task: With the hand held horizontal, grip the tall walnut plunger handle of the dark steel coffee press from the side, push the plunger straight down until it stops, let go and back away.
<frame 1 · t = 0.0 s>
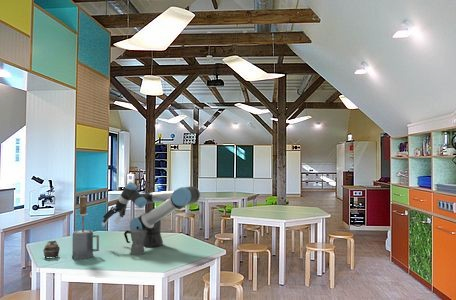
hand: (109, 224, 284), 15 cm above the table, tool tilted 35°, fingers open, 13 cm apart
cupcake: (51, 257, 249), on the table
coffeepot: (135, 254, 257), on the table
press carafe: (82, 256, 250), on the table
plunger: (83, 214, 250), point 27 cm above the table, slide at 0.0 cm
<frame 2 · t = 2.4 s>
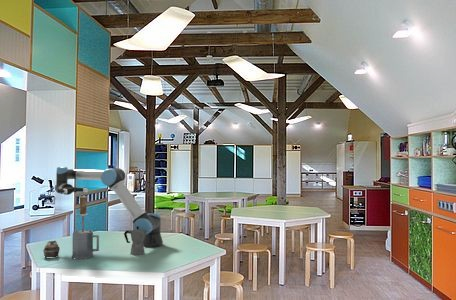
hand: (77, 190, 259), 42 cm above the table, tool horizontal, fingers open, 13 cm apart
nothing on the table moved.
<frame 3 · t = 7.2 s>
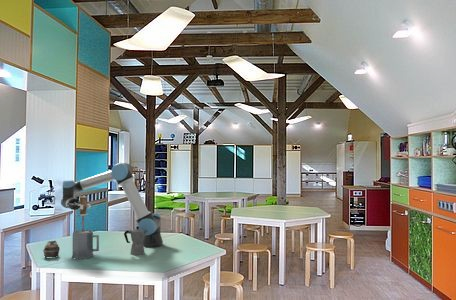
hand: (86, 206, 246), 32 cm above the table, tool horizontal, fingers closed on plunger, 4 cm apart
plunger: (83, 214, 250), point 27 cm above the table, slide at 0.0 cm, touching gripper
everything else where it was.
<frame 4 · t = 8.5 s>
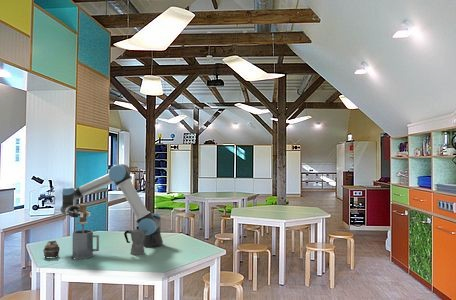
hand: (86, 214, 246), 27 cm above the table, tool horizontal, fingers closed on plunger, 4 cm apart
plunger: (83, 222, 250), point 22 cm above the table, slide at 5.1 cm, touching gripper
everything else where it was.
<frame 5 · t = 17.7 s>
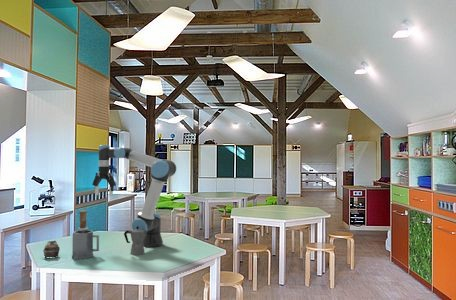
hand: (103, 195, 281), 37 cm above the table, tool pointing down, fingers open, 13 cm apart
plunger: (82, 229, 250), point 18 cm above the table, slide at 9.1 cm
everything else where it was.
at the end: plunger slide at 9.1 cm; the gripper is holding nothing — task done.
